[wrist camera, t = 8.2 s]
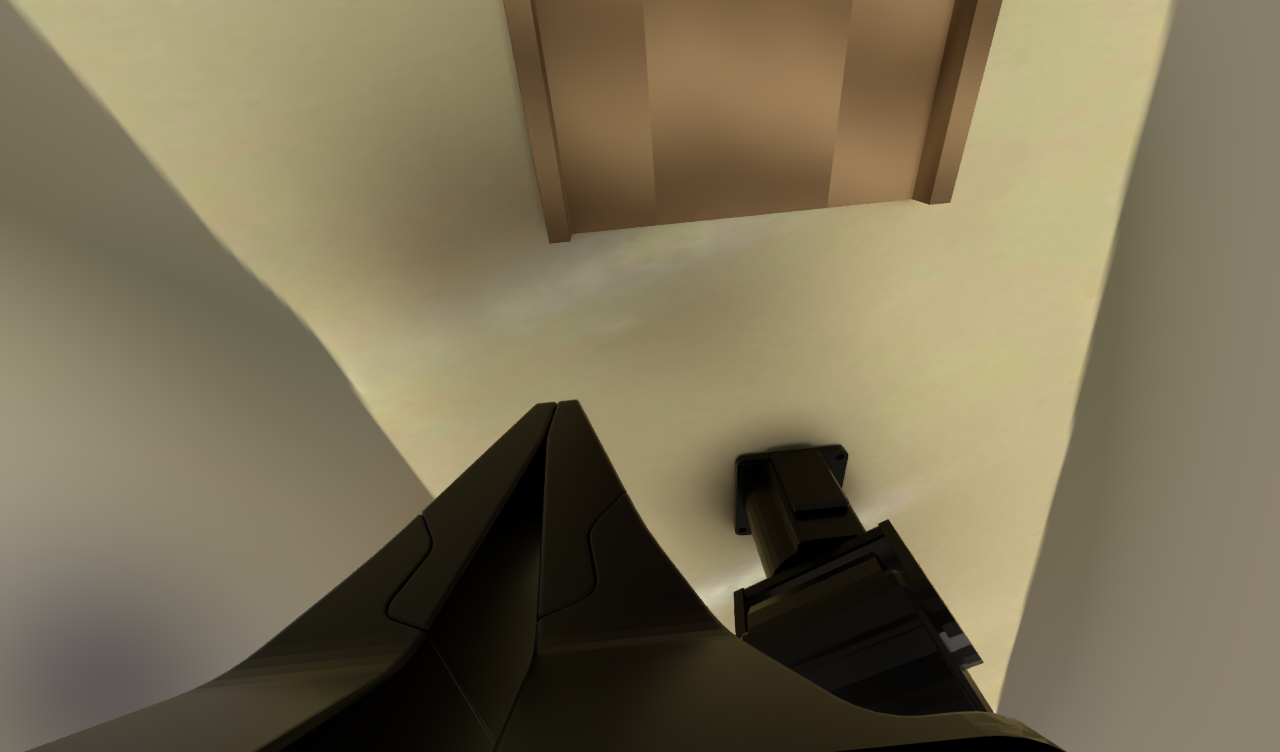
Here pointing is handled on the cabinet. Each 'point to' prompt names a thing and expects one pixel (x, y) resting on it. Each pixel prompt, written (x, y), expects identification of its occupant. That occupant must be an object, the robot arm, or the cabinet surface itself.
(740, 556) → the cabinet surface
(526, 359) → the cabinet surface
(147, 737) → the robot arm
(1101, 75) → the cabinet surface
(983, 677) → the cabinet surface
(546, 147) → the tray
